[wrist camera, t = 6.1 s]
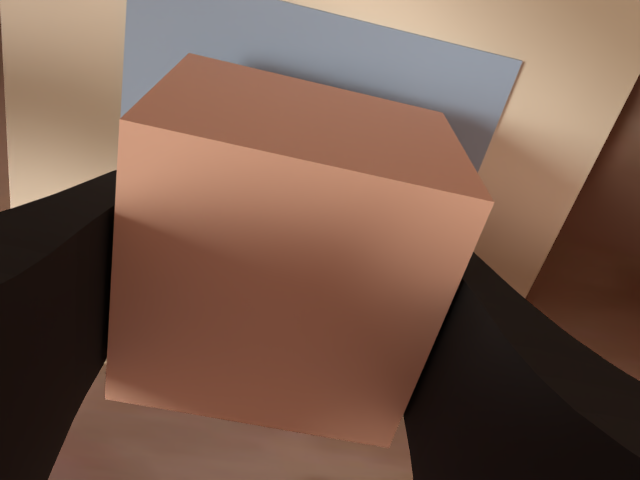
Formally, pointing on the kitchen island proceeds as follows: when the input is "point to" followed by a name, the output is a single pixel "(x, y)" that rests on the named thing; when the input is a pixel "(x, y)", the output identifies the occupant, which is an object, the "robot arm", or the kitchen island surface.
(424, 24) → the baseboard
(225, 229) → the terracotta base block
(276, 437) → the kitchen island surface
